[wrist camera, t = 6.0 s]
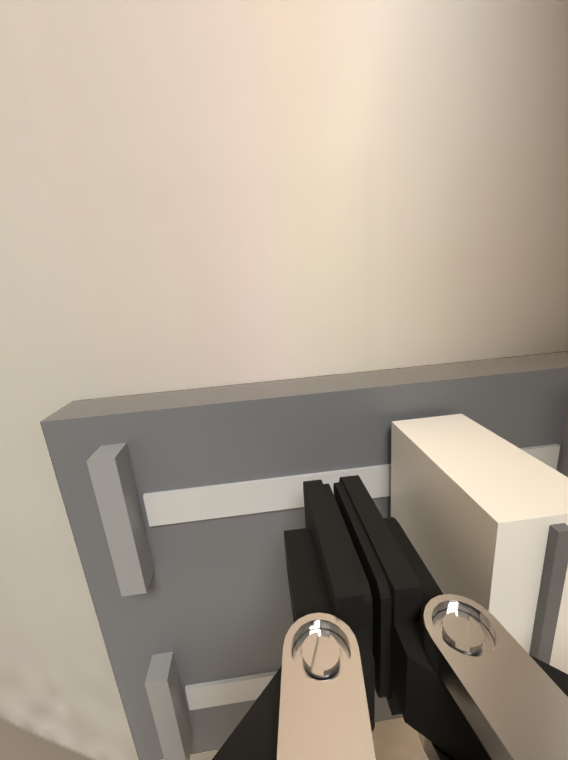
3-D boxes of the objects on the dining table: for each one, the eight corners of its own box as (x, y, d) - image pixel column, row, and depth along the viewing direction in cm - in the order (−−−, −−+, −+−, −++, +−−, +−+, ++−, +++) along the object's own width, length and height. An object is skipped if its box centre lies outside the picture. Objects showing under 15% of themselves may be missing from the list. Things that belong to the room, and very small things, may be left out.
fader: (391, 421, 11) (506, 530, 6) (461, 413, 11) (628, 513, 6) (390, 542, 12) (484, 714, 7) (453, 534, 13) (586, 696, 8)
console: (72, 400, 12) (19, 435, 10) (583, 349, 14) (672, 366, 11) (152, 708, 17) (131, 796, 14) (535, 645, 18) (589, 713, 15)
